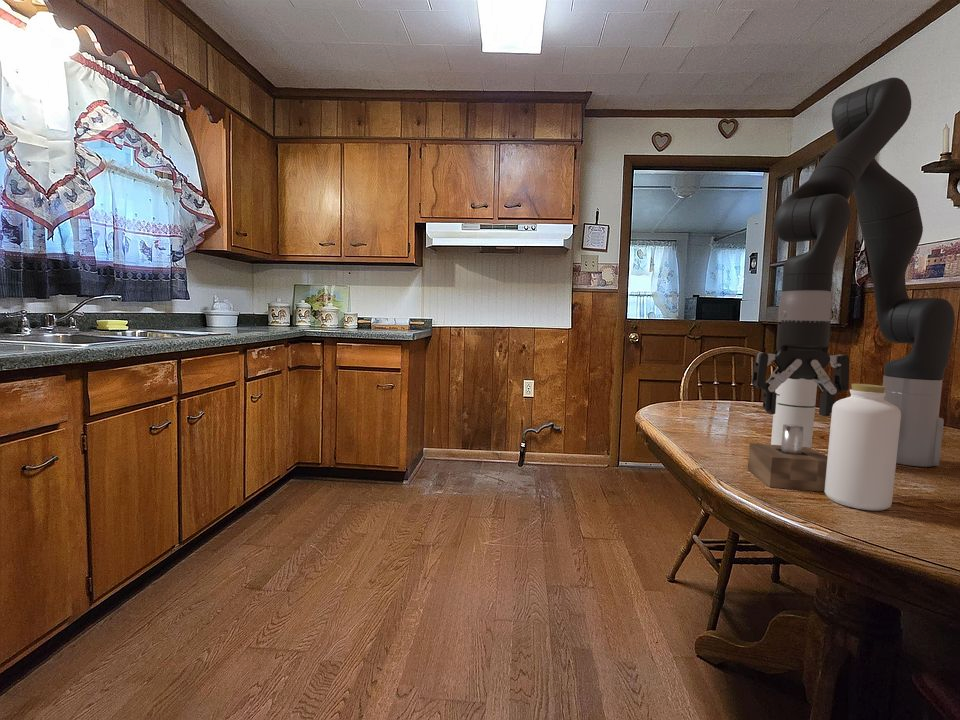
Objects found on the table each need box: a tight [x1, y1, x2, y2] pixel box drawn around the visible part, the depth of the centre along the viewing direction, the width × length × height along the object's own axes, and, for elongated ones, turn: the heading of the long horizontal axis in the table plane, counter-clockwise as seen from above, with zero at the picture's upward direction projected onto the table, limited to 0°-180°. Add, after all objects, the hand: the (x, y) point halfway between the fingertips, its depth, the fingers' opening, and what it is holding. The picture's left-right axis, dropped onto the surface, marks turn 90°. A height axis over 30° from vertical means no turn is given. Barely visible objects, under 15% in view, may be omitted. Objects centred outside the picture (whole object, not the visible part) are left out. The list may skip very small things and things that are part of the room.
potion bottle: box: [824, 383, 901, 512], centre depth 78 cm, size 8×8×18 cm
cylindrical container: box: [770, 365, 818, 449], centre depth 106 cm, size 7×7×25 cm
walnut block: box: [747, 442, 828, 492], centre depth 89 cm, size 10×10×5 cm
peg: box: [781, 424, 804, 455], centre depth 89 cm, size 3×3×8 cm
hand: (797, 414), depth 88 cm, fingers open, 8 cm apart
